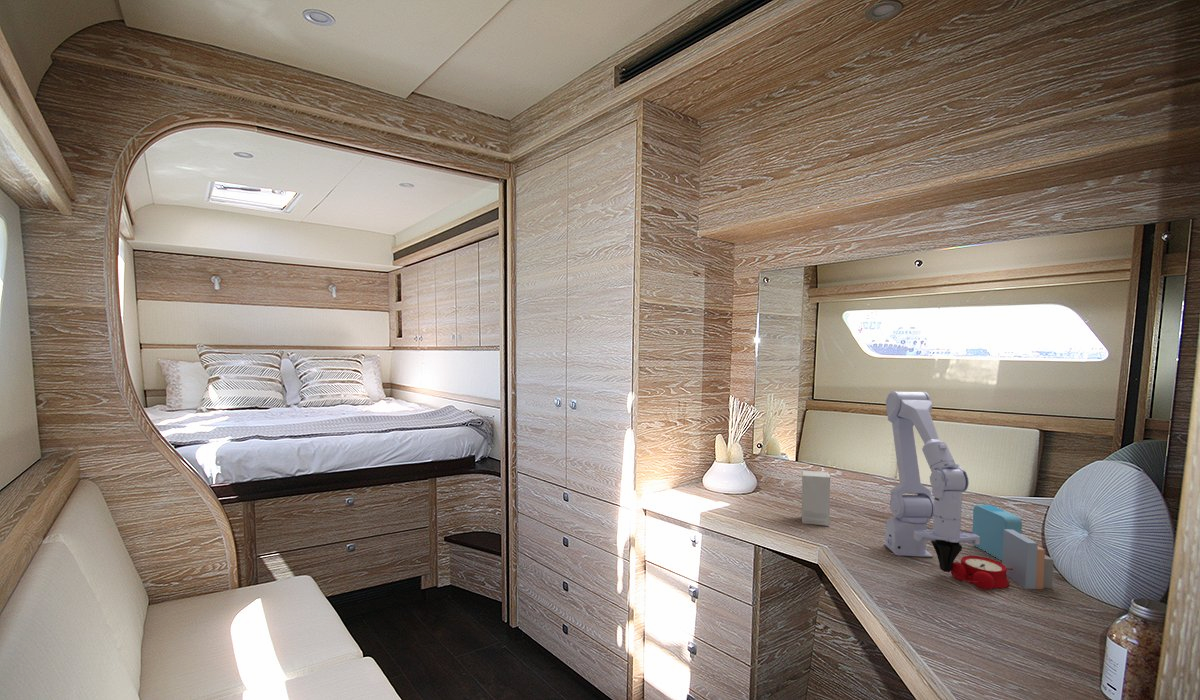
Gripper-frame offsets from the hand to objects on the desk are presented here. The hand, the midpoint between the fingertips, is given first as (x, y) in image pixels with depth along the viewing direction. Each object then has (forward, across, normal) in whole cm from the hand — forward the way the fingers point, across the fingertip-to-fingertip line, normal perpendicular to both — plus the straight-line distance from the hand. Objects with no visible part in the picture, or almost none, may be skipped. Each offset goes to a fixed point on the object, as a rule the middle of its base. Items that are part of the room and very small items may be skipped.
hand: (944, 570), depth 136 cm
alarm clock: (+2, +7, -1) cm, 8 cm away
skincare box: (+2, -22, +35) cm, 41 cm away
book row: (+1, +19, 0) cm, 19 cm away
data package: (+2, +22, +17) cm, 27 cm away
